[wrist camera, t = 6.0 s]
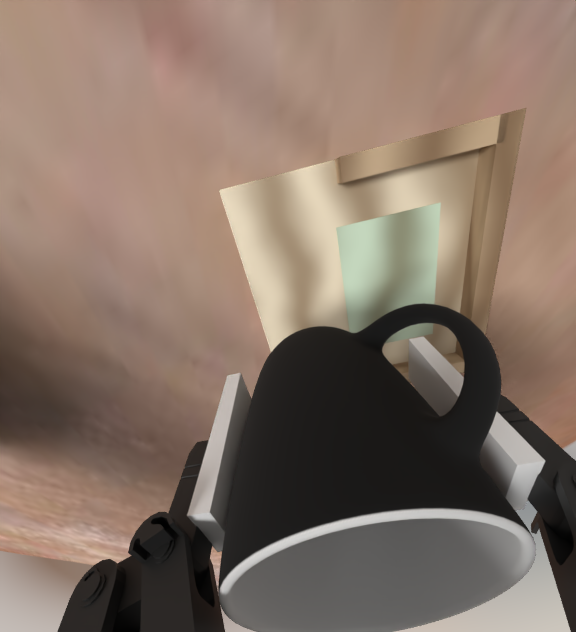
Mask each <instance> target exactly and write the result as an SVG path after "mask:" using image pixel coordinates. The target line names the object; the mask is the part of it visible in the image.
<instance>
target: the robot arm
mask: <svg viewBox="0 0 576 632" xmlns="http://www.w3.org/2000/svg"><path fill="white" fill-rule="evenodd" d="M409 379H410V381H411V382H412V384H413V385H414V387H415V388H416V390H417V391H418V392H419V394H420V395H421V396H422V397H423V398H424V399H425V400H426V401H427V402H428V404H429V405H430V406H431V407H432V408H433V409H434V410H435V412H436V413H437V414H438V415H439V416H443V415H445V414H446V413H447V412H449V411H450V410H451V409H452V407H453V406H454V404H455V403H456V401H457V399H458V397H459V395H460V392H461V389H462V385H463V381H464V377H463V376H462V375H461V374H460V373H459V372H458V371H457V370H456V369H455V368H454V367H453V366H452V365H451V364H450V363H449V362H448V361H447V360H446V359H445V358H444V357H443V356H442V355H441V354H440V353H439V352H438V351H437V350H436V349H435V348H434V347H433V346H432V345H431V344H430V343H429V342H428V341H427V340H426V339H425V337H424V336H423V337H418V338H413V339H409ZM250 404H251V397H250V395H249V392H248V390H247V387H246V385H245V383H244V380H243V378H242V375H241V373H237V374H232V375H227V379H226V382H225V386H224V389H223V393H222V396H221V400H220V403H219V407H218V410H217V414H216V417H215V421H214V424H213V427H212V431H211V434H210V438H209V440H207V441H202V442H197V443H196V445H195V446H194V448H193V449H192V451H191V452H190V453H189V456H188V459H187V462H186V464H185V469H184V470H183V473H182V476H181V480H180V482H179V485H178V487H177V490H176V493H175V496H174V499H173V502H172V505H171V508H170V510H169V513H167V512H158V513H156V514H154V515H152V516H150V517H149V518H148V519H147V520H146V521H144V522H143V523H142V525H141V526H140V527H139V528H138V530H137V531H136V533H135V535H134V536H133V538H132V540H131V543H130V547H129V551H128V553H129V554H130V555H132V556H130V557H128V558H127V559H125V560H123V561H121V562H119V563H118V564H117V563H116V562H114V561H113V560H111V559H107V560H102V561H100V562H99V563H97V564H96V565H94V566H93V567H92V568H91V569H90V570H89V571H88V572H87V573H86V574H85V575H84V576H83V577H82V579H81V580H80V582H79V583H78V584H77V586H76V588H75V590H74V592H73V594H72V596H71V598H70V600H69V603H68V605H67V608H66V611H65V613H64V616H63V619H62V621H61V624H60V627H59V629H58V632H225V629H224V624H223V618H222V613H221V607H220V602H219V596H218V591H217V586H216V580H215V575H214V569H213V565H212V562H211V560H210V554H211V549H212V546H213V547H214V548H215V549H216V551H217V552H220V551H222V550H223V542H224V536H225V529H226V523H227V517H228V511H229V505H230V499H231V493H232V488H233V482H234V477H235V472H236V466H237V461H238V456H239V451H240V447H241V442H242V437H243V433H244V428H245V424H246V419H247V415H248V411H249V407H250ZM479 458H480V464H481V466H482V468H483V469H484V470H485V472H486V473H487V474H488V475H489V477H490V478H491V479H492V481H493V482H494V483H495V485H496V486H497V487H498V488H499V490H500V491H501V493H502V494H503V495H504V497H505V498H506V499H507V501H508V502H509V503H510V505H511V506H512V507H513V509H514V510H521V509H524V508H525V506H526V504H527V501H528V500H529V502H530V503H531V504H532V505H533V506H534V508H535V509H536V510H537V514H536V516H535V518H534V520H533V522H532V524H531V532H532V533H535V534H536V533H537V531H538V529H540V532H541V536H542V539H543V542H544V545H545V549H546V552H547V555H548V558H549V562H550V565H551V568H552V571H553V575H554V578H555V581H556V584H557V588H558V591H559V594H560V597H561V601H562V604H563V607H564V610H565V614H566V617H567V620H568V623H569V627H570V630H571V632H576V461H575V460H574V459H573V458H571V456H569V455H568V454H567V453H566V452H565V451H564V450H563V449H562V448H561V447H560V446H559V445H557V444H556V443H555V442H554V441H553V440H552V439H551V438H550V437H549V436H548V435H547V434H545V433H544V432H543V431H542V430H541V429H540V428H539V427H538V426H537V425H536V424H535V423H533V422H532V421H530V420H529V418H528V417H527V416H526V415H525V414H524V413H523V412H521V411H519V409H518V408H517V407H516V406H515V405H514V404H513V403H512V402H511V401H509V400H508V399H507V398H506V397H504V396H502V395H500V400H499V405H498V409H497V412H496V415H495V418H494V421H493V423H492V426H491V428H490V430H489V433H488V435H487V437H486V439H485V441H484V443H483V446H482V448H481V451H480V456H479Z"/></svg>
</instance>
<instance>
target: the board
mask: <svg viewBox="0 0 576 632" xmlns="http://www.w3.org/2000/svg"><path fill="white" fill-rule="evenodd" d="M525 113H526V108H524V109H520V110H516V111H513V112H509V113H505V114H501V115H497V116H494V117H490V118H486V119H482V120H478V121H475V122H471V123H467V124H463V125H459V126H456V127H452V128H448V129H444V130H441V131H437V132H433V133H429V134H425V135H422V136H418V137H414V138H410V139H406V140H403V141H399V142H395V143H391V144H387V145H384V146H380V147H376V148H372V149H368V150H365V151H361V152H357V153H353V154H349V155H346V156H342V157H339V158H337V159H335V160H332V161H328V162H324V163H321V164H317V165H313V166H309V167H305V168H302V169H298V170H294V171H290V172H286V173H283V174H279V175H275V176H271V177H267V178H264V179H260V180H256V181H252V182H248V183H245V184H241V185H237V186H233V187H229V188H226V189H222V190H219V192H220V195H221V198H222V201H223V204H224V207H225V210H226V213H227V217H228V220H229V223H230V226H231V229H232V232H233V235H234V238H235V242H236V245H237V248H238V251H239V254H240V257H241V260H242V263H243V267H244V270H245V273H246V276H247V279H248V282H249V285H250V288H251V291H252V295H253V298H254V301H255V304H256V307H257V310H258V313H259V316H260V320H261V323H262V326H263V329H264V332H265V335H266V338H267V341H268V345H269V348H270V351H271V352H272V351H273V350H274V348H275V347H276V346H277V345H278V344H279V343H280V342H281V341H283V340H284V339H285V338H286V337H288V336H289V335H291V334H293V333H295V332H297V331H300V330H302V329H306V328H310V327H316V326H330V327H336V328H340V329H343V330H346V331H349V332H351V333H357V332H359V331H361V330H363V329H365V328H366V327H368V326H369V325H370V324H372V323H373V322H375V321H376V320H377V319H379V318H380V317H382V316H383V315H385V314H387V313H389V312H391V311H393V310H395V309H398V308H401V307H404V306H407V305H412V304H422V303H426V304H435V305H440V306H444V307H448V308H450V309H452V310H454V311H457V312H459V313H461V314H462V315H464V316H465V317H467V318H468V319H470V320H471V321H472V322H473V323H474V324H475V325H476V326H477V327H478V328H479V329H480V330H481V331H482V332H483V333H484V335H485V333H486V328H487V322H488V317H489V311H490V306H491V300H492V295H493V289H494V284H495V278H496V273H497V267H498V262H499V256H500V251H501V245H502V240H503V234H504V229H505V223H506V218H507V212H508V206H509V201H510V195H511V190H512V184H513V179H514V173H515V168H516V162H517V157H518V151H519V146H520V140H521V135H522V129H523V124H524V118H525ZM423 336H424V337H425V339H426V340H427V341H428V342H429V343H430V344H431V345H432V346H433V347H434V348H435V349H436V350H437V351H438V352H439V353H440V354H441V355H442V356H443V357H444V358H445V359H446V360H447V361H448V362H449V363H450V364H451V365H452V366H453V367H454V368H455V369H456V370H457V371H458V372H459V373H465V365H464V357H463V352H462V349H461V346H460V344H459V342H458V340H457V338H456V336H455V335H454V334H453V332H452V331H451V330H449V329H448V328H447V327H445V326H442V325H439V324H434V323H422V324H416V325H411V326H409V327H406V328H404V329H402V330H400V331H398V332H396V333H395V334H393V335H392V336H391V337H390V338H389V339H388V340H387V341H386V342H385V344H384V346H383V349H382V352H383V354H384V356H385V357H386V359H387V360H388V361H389V362H390V363H391V364H392V365H393V366H394V367H395V368H396V369H397V370H398V371H399V372H400V373H401V374H402V375H403V376H404V377H405V378H406V379H407V381H408V382H409V383H412V382H411V381H410V379H409V339H413V338H418V337H423Z"/></svg>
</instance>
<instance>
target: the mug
mask: <svg viewBox="0 0 576 632" xmlns="http://www.w3.org/2000/svg"><path fill="white" fill-rule="evenodd" d="M422 323H434V324H439V325H442V326H445V327H447V328H448V329H449V330H451V331H452V332H453V334H454V335H455V336H456V338H457V340H458V342H459V344H460V346H461V349H462V352H463V357H464V365H465V374H464V381H463V385H462V389H461V392H460V395H459V397H458V399H457V401H456V403H455V404H454V406H453V407H452V409H451V410H450V411H449V412H447V413H446V414H445V415H443V416H439V415H438V414H437V413H436V412H435V410H434V409H433V408H432V407H431V406H430V405H429V404H428V402H427V401H426V400H425V399H424V398H423V397H422V396H421V395H420V394H419V392H418V391H417V390H416V389H415V388H414V387H413V386H412V385H411V384H410V383H409V382H408V381H407V379H406V378H405V377H404V376H403V375H402V374H401V373H400V372H399V371H398V370H397V369H396V368H395V367H394V366H393V365H392V364H391V363H390V362H389V361H388V360H387V359H386V357H385V356H384V354H383V352H382V349H383V346H384V344H385V342H386V341H387V340H388V339H389V338H390V337H391V336H392V335H393V334H395V333H396V332H398V331H400V330H402V329H404V328H406V327H409V326H411V325H416V324H422ZM500 395H501V375H500V368H499V364H498V361H497V358H496V354H495V352H494V350H493V348H492V346H491V344H490V342H489V340H488V339H487V337H486V336H485V335H484V333H483V332H482V331H481V330H480V329H479V328H478V327H477V326H476V325H475V324H474V323H473V322H472V321H471V320H470V319H468V318H467V317H465V316H464V315H462V314H461V313H459V312H457V311H454V310H452V309H450V308H448V307H444V306H440V305H435V304H426V303H422V304H412V305H407V306H404V307H401V308H398V309H395V310H393V311H391V312H389V313H387V314H385V315H383V316H382V317H380V318H379V319H377V320H376V321H375V322H373V323H372V324H370V325H369V326H368V327H366V328H365V329H363V330H361V331H359V332H357V333H351V332H349V331H346V330H343V329H340V328H336V327H330V326H316V327H310V328H306V329H302V330H300V331H297V332H295V333H293V334H291V335H289V336H288V337H286V338H285V339H284V340H283V341H281V342H280V343H279V344H278V345H277V346H276V347H275V348H274V350H273V351H272V352H271V353H270V355H269V356H268V358H267V360H266V361H265V364H264V366H263V368H262V370H261V373H260V375H259V378H258V381H257V384H256V387H255V390H254V393H253V397H252V400H251V404H250V407H249V411H248V415H247V419H246V424H245V428H244V433H243V437H242V442H241V447H240V451H239V456H238V461H237V466H236V472H235V477H234V482H233V488H232V493H231V499H230V505H229V511H228V517H227V523H226V529H225V536H224V542H223V550H222V557H221V566H220V575H219V602H220V605H221V607H222V609H223V611H224V613H225V614H226V615H227V616H228V617H229V618H230V619H231V620H232V621H234V622H235V623H237V624H239V625H240V626H242V627H245V628H247V629H250V630H253V631H256V632H393V631H399V630H404V629H408V628H413V627H417V626H421V625H425V624H428V623H432V622H435V621H439V620H442V619H445V618H448V617H451V616H454V615H457V614H460V613H462V612H465V611H467V610H470V609H472V608H474V607H477V606H479V605H481V604H483V603H485V602H487V601H489V600H491V599H493V598H495V597H497V596H498V595H500V594H502V593H503V592H505V591H507V590H508V589H509V588H511V587H512V586H513V585H515V584H516V583H517V582H518V581H520V580H521V579H522V578H523V577H524V576H525V575H526V574H527V572H528V571H529V570H530V568H531V567H532V565H533V563H534V560H535V556H536V548H535V542H534V539H533V537H532V535H531V534H530V532H529V530H528V528H527V527H526V525H525V524H524V523H523V521H522V520H521V518H520V517H519V516H518V514H517V513H516V512H515V510H514V509H513V507H512V506H511V505H510V503H509V502H508V501H507V499H506V498H505V497H504V495H503V494H502V493H501V491H500V490H499V488H498V487H497V486H496V485H495V483H494V482H493V481H492V479H491V478H490V477H489V475H488V474H487V473H486V472H485V470H484V469H483V468H482V466H481V464H480V458H479V456H480V451H481V448H482V446H483V443H484V441H485V439H486V437H487V435H488V433H489V430H490V428H491V426H492V423H493V421H494V418H495V415H496V412H497V409H498V405H499V400H500Z"/></svg>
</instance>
